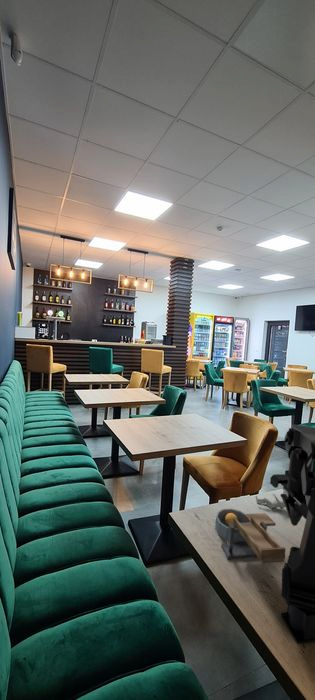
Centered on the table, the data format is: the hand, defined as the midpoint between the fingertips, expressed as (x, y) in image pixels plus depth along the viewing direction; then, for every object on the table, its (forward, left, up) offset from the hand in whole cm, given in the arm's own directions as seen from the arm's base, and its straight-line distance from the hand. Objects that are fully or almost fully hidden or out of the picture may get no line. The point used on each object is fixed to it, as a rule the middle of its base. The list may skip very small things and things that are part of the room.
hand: (294, 524), depth 85 cm
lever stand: (+6, +11, -12) cm, 17 cm away
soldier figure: (+26, -10, -12) cm, 31 cm away
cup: (+15, +11, -12) cm, 22 cm away
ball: (+17, +11, -10) cm, 22 cm away
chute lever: (+3, +7, -5) cm, 10 cm away
